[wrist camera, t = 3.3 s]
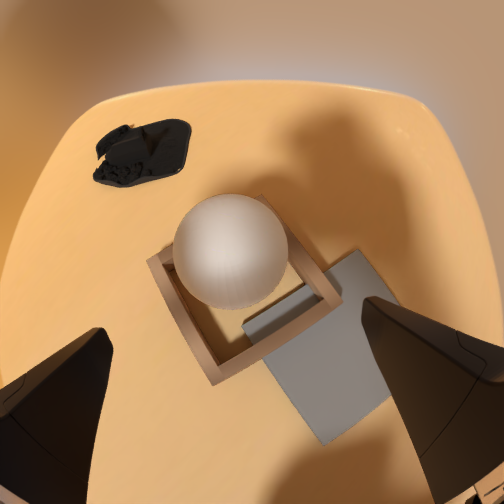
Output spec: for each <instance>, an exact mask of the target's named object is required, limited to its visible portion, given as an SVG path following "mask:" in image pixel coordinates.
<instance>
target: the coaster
mask: <svg viewBox="0 0 504 504" xmlns="http://www.w3.org/2000/svg"><path fill="white" fill-rule="evenodd" d="M323 274H324V275H325V277H326V278H327V279H328V281H329V282H330V284H331V285H332V286H333V288H334V289H335V290H336V292H337V293H338V295H339V296H340V297H341V299H342V300H343V301H344V302H343V303H342V304H341V305H340V306H338V307H337V308H336V309H334V310H333V311H332V312H330V313H329V314H328V315H326V316H325V317H323V318H322V319H321V320H319V321H318V322H316V323H315V324H313V325H312V326H311V327H309V328H308V329H306V330H305V331H303V332H302V333H300V334H299V335H297V336H296V337H294V338H293V339H291V340H290V341H288V342H287V343H285V344H284V345H282V346H281V347H279V348H278V349H276V350H274V351H273V352H271V353H270V354H268V355H266V356H265V357H263V358H262V359H263V361H264V362H265V364H266V365H267V367H268V368H269V370H270V371H271V373H272V374H273V376H274V377H275V379H276V380H277V382H278V383H279V385H280V386H281V388H282V389H283V390H284V392H285V393H286V395H287V396H288V398H289V399H290V401H291V402H292V403H293V405H294V406H295V408H296V409H297V410H298V412H299V413H300V415H301V416H302V417H303V419H304V420H305V422H306V423H307V424H308V426H309V427H310V429H311V430H312V431H313V433H314V434H315V435H316V437H317V438H318V439H319V441H320V442H321V443H322V445H323V446H325V445H326V444H328V443H329V442H331V441H332V440H334V439H335V438H337V437H338V436H340V435H341V434H342V433H344V432H345V431H347V430H348V429H349V428H351V427H352V426H353V425H355V424H356V423H357V422H359V421H360V420H361V419H363V418H364V417H365V416H367V415H368V414H369V413H370V412H372V411H373V410H374V409H375V408H376V407H378V406H379V405H380V404H381V403H382V402H384V401H385V400H386V399H387V398H388V397H389V396H390V395H391V393H390V390H389V388H388V386H387V384H386V382H385V380H384V378H383V376H382V374H381V372H380V370H379V367H378V365H377V363H376V361H375V359H374V356H373V354H372V351H371V348H370V345H369V342H368V340H367V337H366V334H365V332H364V329H363V326H362V323H361V313H362V305H363V300H364V298H366V297H370V296H377V297H380V298H382V299H385V300H387V301H389V302H392V303H394V304H396V305H399V303H398V302H397V300H396V299H395V297H394V296H393V295H392V293H391V292H390V290H389V289H388V288H387V286H386V285H385V283H384V282H383V281H382V279H381V278H380V277H379V275H378V274H377V273H376V271H375V270H374V269H373V267H372V266H371V265H370V263H369V262H368V261H367V259H366V258H365V257H364V256H363V254H362V253H361V252H360V250H359V249H357V250H355V251H354V252H353V253H351V254H350V255H348V256H347V257H346V258H344V259H343V260H341V261H340V262H339V263H337V264H336V265H334V266H333V267H331V268H330V269H328V270H327V271H326V272H324V273H323ZM319 302H320V301H319V299H318V298H317V297H316V295H315V294H314V292H313V291H312V290H311V288H310V287H309V285H308V284H306V285H305V286H303V287H302V288H300V289H299V290H297V291H296V292H294V293H293V294H291V295H290V296H288V297H287V298H285V299H283V300H282V301H280V302H279V303H277V304H276V305H274V306H273V307H271V308H269V309H268V310H266V311H265V312H263V313H261V314H260V315H258V316H257V317H255V318H253V319H252V320H250V321H248V322H247V323H245V324H244V325H242V326H241V327H242V328H243V330H244V332H245V333H246V335H247V336H248V338H249V339H250V341H251V342H252V344H253V345H255V344H257V343H258V342H260V341H261V340H263V339H265V338H266V337H268V336H269V335H271V334H273V333H274V332H276V331H277V330H279V329H280V328H282V327H283V326H285V325H287V324H288V323H290V322H291V321H293V320H294V319H296V318H297V317H299V316H300V315H302V314H303V313H305V312H306V311H308V310H309V309H310V308H312V307H313V306H315V305H316V304H318V303H319ZM399 306H400V305H399Z"/></svg>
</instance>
